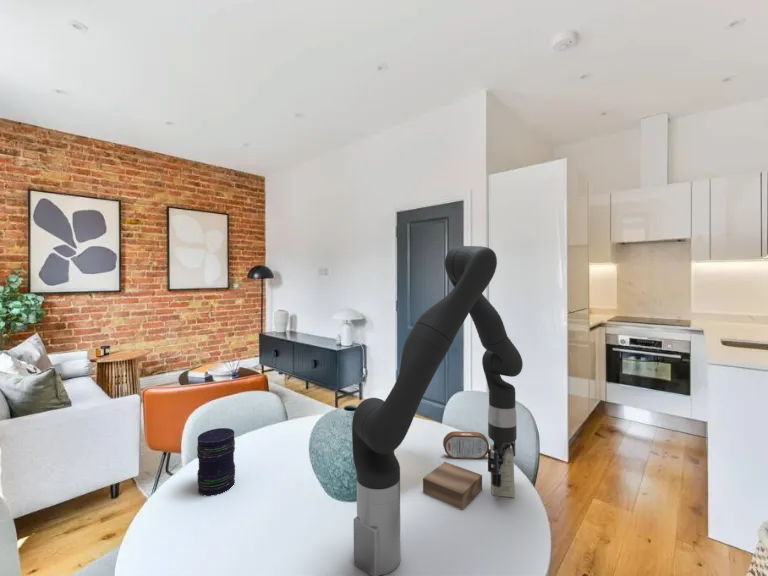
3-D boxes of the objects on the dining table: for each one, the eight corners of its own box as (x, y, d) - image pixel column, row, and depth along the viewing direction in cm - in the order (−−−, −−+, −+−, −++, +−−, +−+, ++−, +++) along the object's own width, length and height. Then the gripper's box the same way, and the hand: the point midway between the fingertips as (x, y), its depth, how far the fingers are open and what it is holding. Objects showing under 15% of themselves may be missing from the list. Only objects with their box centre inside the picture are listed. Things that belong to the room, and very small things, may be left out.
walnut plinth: (462, 509, 92) (462, 494, 92) (423, 492, 100) (423, 478, 100) (482, 489, 101) (482, 474, 101) (444, 474, 109) (444, 461, 109)
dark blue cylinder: (202, 500, 97) (201, 445, 96) (193, 485, 104) (193, 434, 104) (240, 487, 103) (239, 435, 103) (229, 473, 111) (229, 425, 110)
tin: (487, 456, 121) (487, 431, 121) (490, 460, 118) (490, 435, 118) (443, 454, 122) (442, 430, 122) (443, 459, 119) (443, 434, 119)
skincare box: (513, 489, 101) (513, 446, 101) (514, 498, 97) (514, 453, 97) (489, 486, 103) (489, 444, 103) (490, 495, 99) (490, 450, 98)
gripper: (505, 433, 92) (505, 496, 92) (524, 416, 103) (524, 473, 103) (478, 425, 96) (478, 486, 97) (499, 410, 107) (499, 465, 108)
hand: (502, 479), depth 100 cm, fingers open, 7 cm apart
